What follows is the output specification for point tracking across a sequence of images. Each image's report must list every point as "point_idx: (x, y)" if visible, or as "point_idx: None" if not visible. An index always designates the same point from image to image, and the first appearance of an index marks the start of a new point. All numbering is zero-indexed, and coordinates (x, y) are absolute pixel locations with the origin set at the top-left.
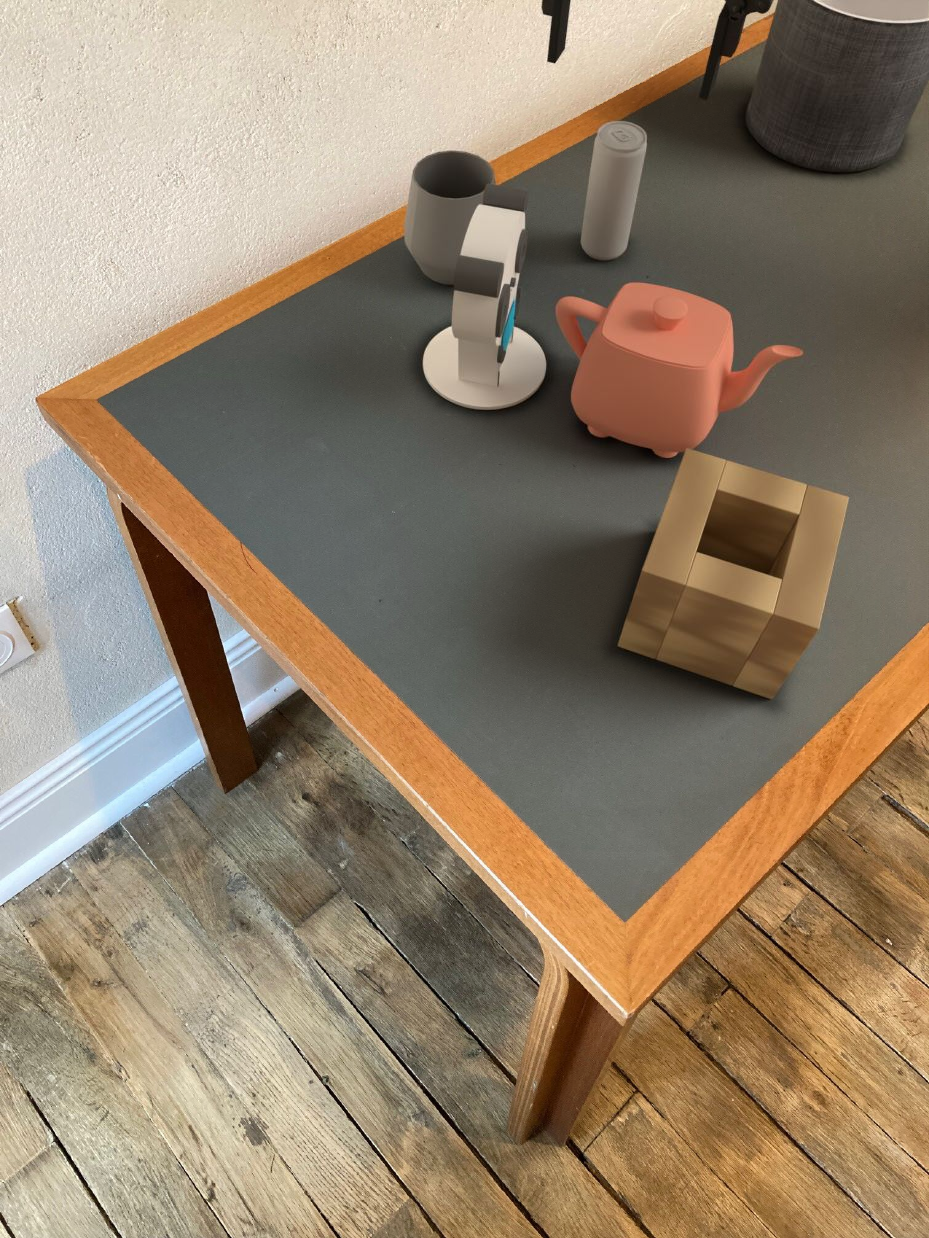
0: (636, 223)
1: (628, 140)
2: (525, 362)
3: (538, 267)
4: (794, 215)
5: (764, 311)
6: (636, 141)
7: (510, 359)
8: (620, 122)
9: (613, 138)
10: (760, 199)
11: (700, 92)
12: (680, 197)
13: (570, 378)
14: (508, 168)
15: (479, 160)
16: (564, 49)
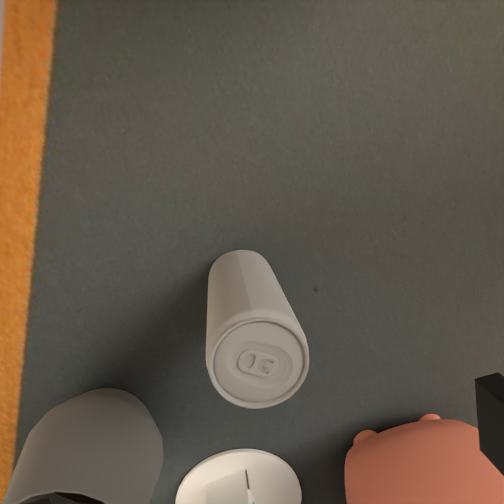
0: (250, 201)
1: (277, 367)
2: (273, 482)
3: (194, 356)
4: (441, 30)
5: (460, 256)
6: (292, 361)
7: (258, 487)
8: (232, 329)
9: (249, 379)
10: (382, 22)
11: (492, 462)
12: (274, 100)
13: (319, 463)
14: (13, 203)
15: (63, 487)
16: (49, 500)
